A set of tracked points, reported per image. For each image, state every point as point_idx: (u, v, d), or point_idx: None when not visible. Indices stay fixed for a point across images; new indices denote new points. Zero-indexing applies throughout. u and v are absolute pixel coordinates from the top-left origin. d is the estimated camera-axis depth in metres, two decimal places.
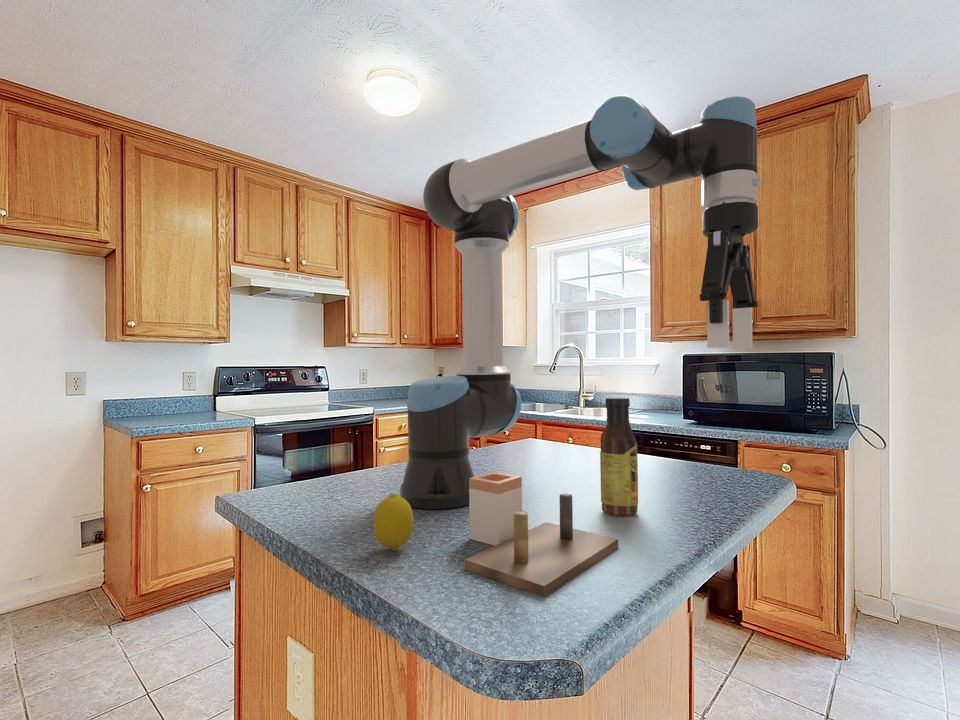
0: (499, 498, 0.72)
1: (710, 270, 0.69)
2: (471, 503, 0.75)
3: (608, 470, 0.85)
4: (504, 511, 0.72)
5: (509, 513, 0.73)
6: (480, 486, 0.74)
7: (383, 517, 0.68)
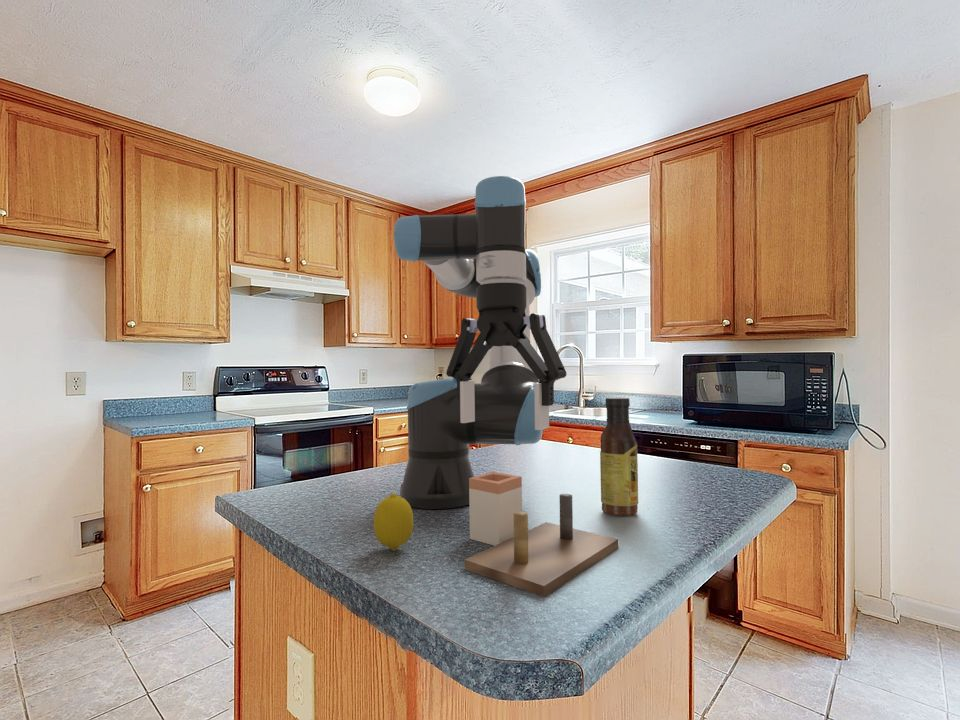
0: (499, 498, 0.72)
1: None
2: (471, 503, 0.75)
3: (608, 470, 0.85)
4: (504, 511, 0.72)
5: (509, 513, 0.73)
6: (480, 486, 0.74)
7: (383, 517, 0.68)
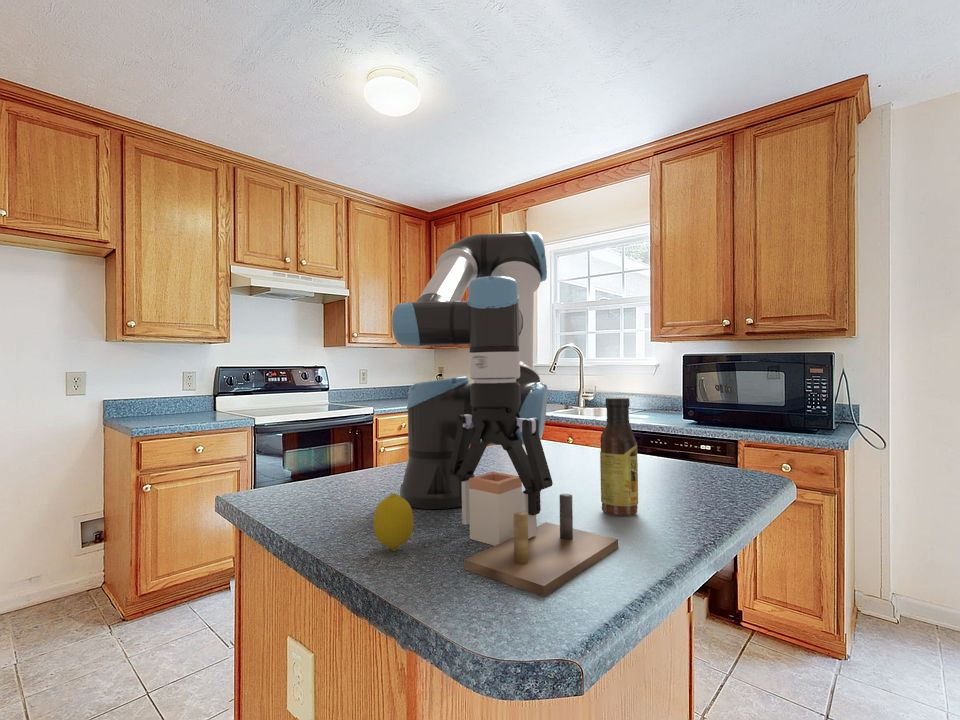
0: (499, 498, 0.72)
1: None
2: (471, 503, 0.75)
3: (608, 470, 0.85)
4: (504, 511, 0.72)
5: (509, 513, 0.73)
6: (480, 486, 0.74)
7: (383, 517, 0.68)
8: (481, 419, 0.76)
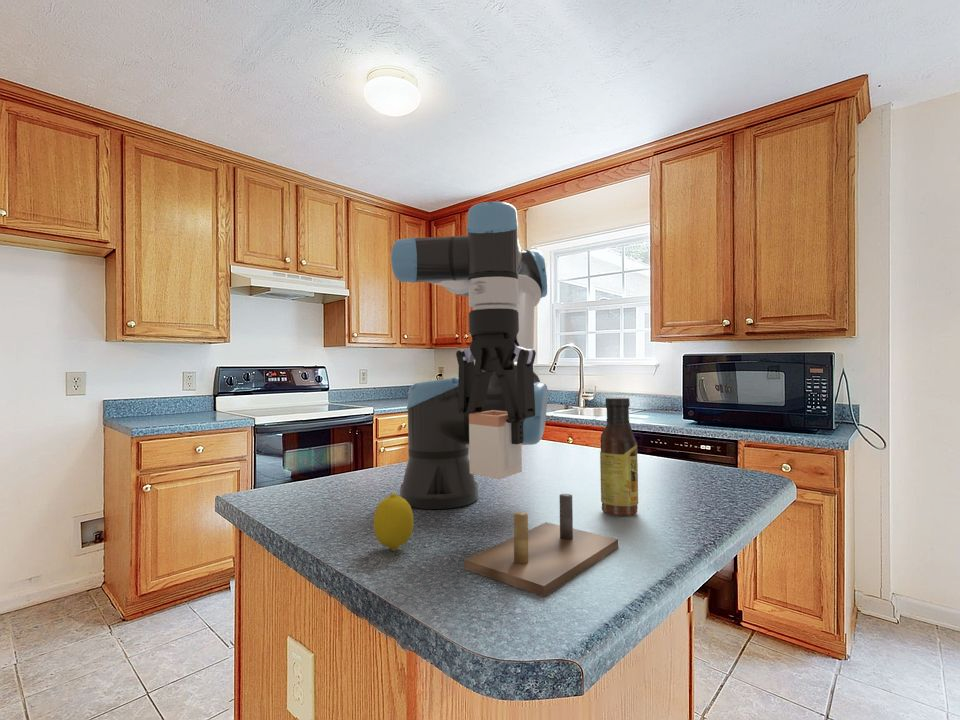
0: (499, 431, 0.72)
1: None
2: (471, 439, 0.75)
3: (608, 470, 0.85)
4: (504, 444, 0.73)
5: None
6: (480, 420, 0.74)
7: (383, 517, 0.68)
8: (479, 345, 0.76)
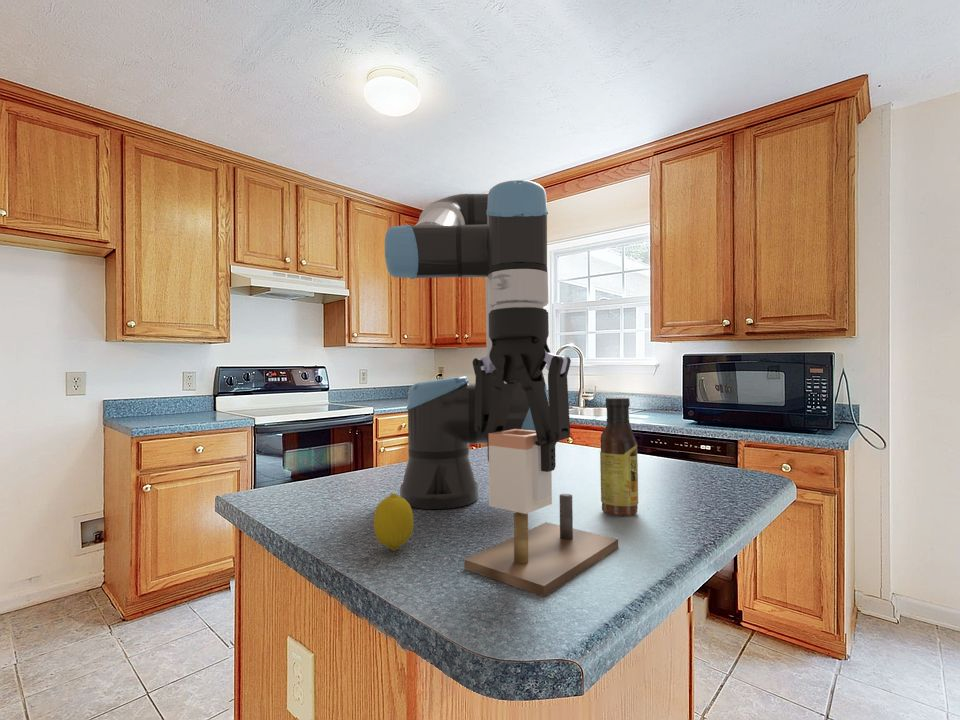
0: (526, 454, 0.59)
1: None
2: (491, 463, 0.62)
3: (608, 470, 0.85)
4: (532, 471, 0.60)
5: None
6: (502, 442, 0.61)
7: (383, 517, 0.68)
8: (501, 351, 0.64)
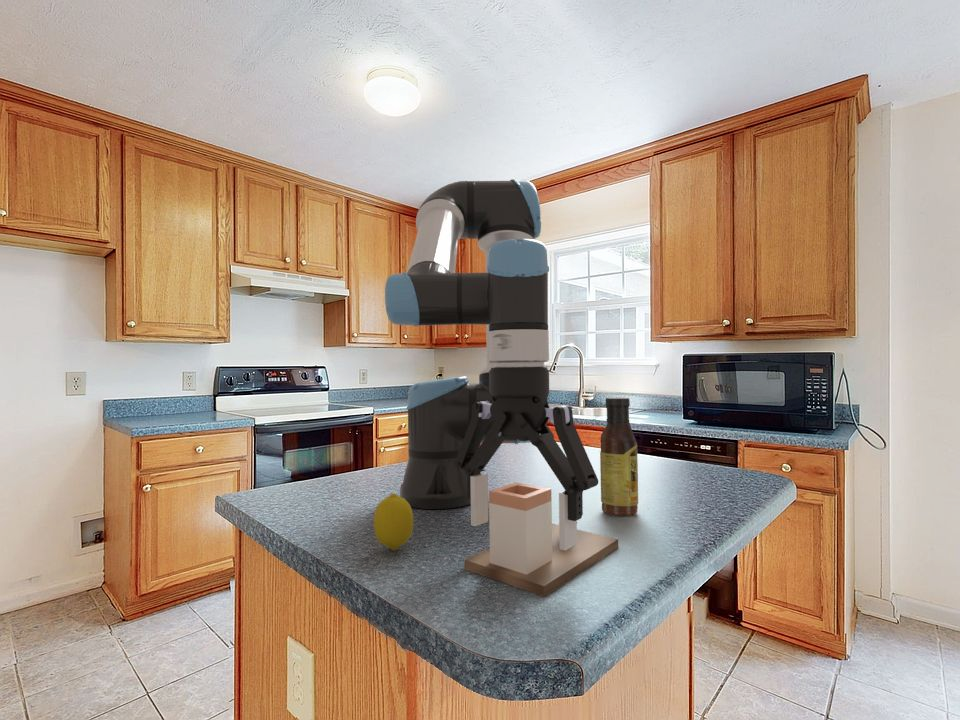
0: (526, 516, 0.59)
1: None
2: (492, 521, 0.63)
3: (608, 470, 0.85)
4: (532, 531, 0.60)
5: (538, 533, 0.61)
6: (503, 501, 0.61)
7: (383, 517, 0.68)
8: (502, 412, 0.64)
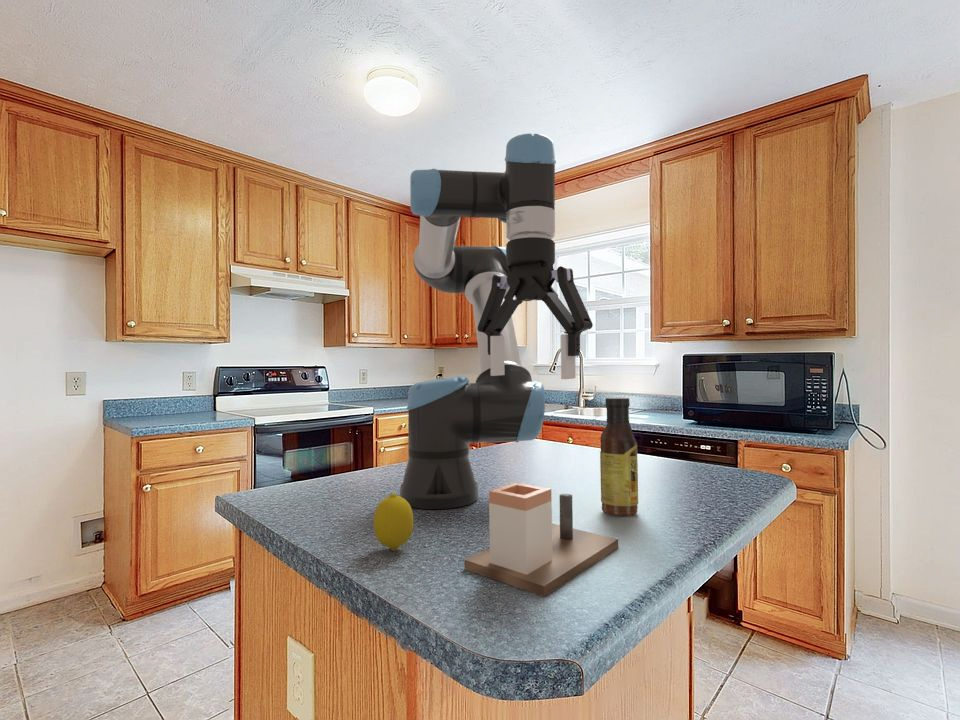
0: (526, 516, 0.59)
1: None
2: (492, 521, 0.63)
3: (608, 470, 0.85)
4: (532, 531, 0.60)
5: (538, 533, 0.61)
6: (503, 501, 0.61)
7: (383, 517, 0.68)
8: None
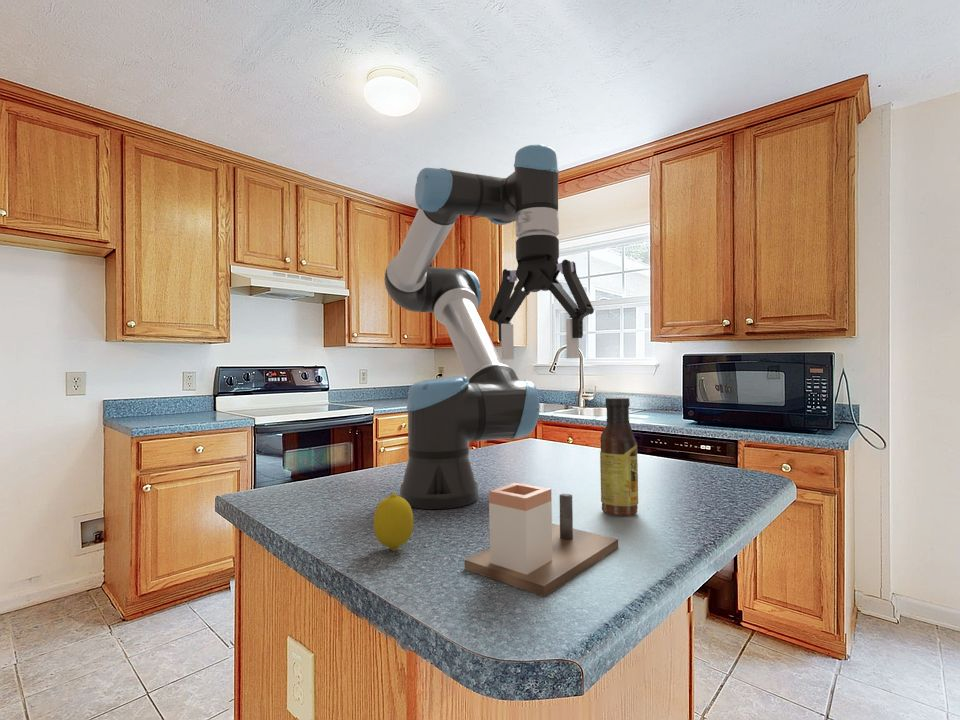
0: (526, 516, 0.59)
1: None
2: (492, 521, 0.63)
3: (608, 470, 0.85)
4: (532, 531, 0.60)
5: (538, 533, 0.61)
6: (503, 501, 0.61)
7: (383, 517, 0.68)
8: None
